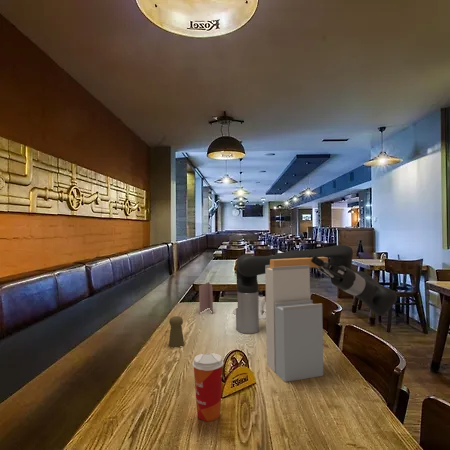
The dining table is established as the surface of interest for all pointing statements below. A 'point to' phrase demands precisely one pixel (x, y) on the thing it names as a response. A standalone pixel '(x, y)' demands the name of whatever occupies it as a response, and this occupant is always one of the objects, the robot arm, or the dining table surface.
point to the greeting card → (205, 297)
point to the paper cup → (208, 385)
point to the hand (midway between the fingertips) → (310, 258)
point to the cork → (176, 332)
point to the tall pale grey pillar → (283, 298)
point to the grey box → (298, 340)
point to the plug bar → (294, 262)
